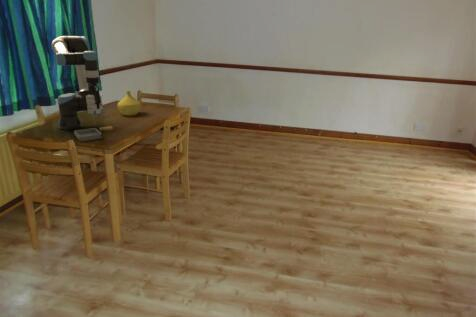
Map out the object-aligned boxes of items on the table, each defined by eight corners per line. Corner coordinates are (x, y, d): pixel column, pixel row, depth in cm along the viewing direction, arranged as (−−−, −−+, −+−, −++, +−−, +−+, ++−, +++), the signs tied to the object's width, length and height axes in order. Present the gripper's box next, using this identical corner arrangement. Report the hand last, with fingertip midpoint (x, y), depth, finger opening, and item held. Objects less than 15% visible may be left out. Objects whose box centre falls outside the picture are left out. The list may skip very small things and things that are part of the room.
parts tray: (74, 134, 246) (73, 130, 245) (95, 132, 254) (95, 127, 253) (80, 141, 234) (79, 137, 233) (102, 138, 242) (102, 133, 240)
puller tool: (101, 131, 257) (100, 128, 256) (99, 129, 259) (99, 127, 259) (112, 129, 261) (112, 127, 261) (111, 128, 264) (111, 126, 263)
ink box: (103, 113, 241) (101, 95, 236) (98, 115, 236) (96, 97, 232) (92, 111, 243) (90, 94, 239) (87, 113, 239) (85, 95, 234)
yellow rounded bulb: (140, 111, 313) (139, 88, 306) (142, 116, 297) (141, 93, 290) (118, 112, 307) (116, 89, 300) (118, 117, 291) (116, 93, 284)
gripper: (80, 74, 237) (84, 108, 245) (91, 80, 221) (95, 116, 229) (92, 73, 241) (96, 107, 250) (104, 79, 225) (107, 114, 234)
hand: (95, 111), depth 239 cm, fingers closed on ink box, 9 cm apart
